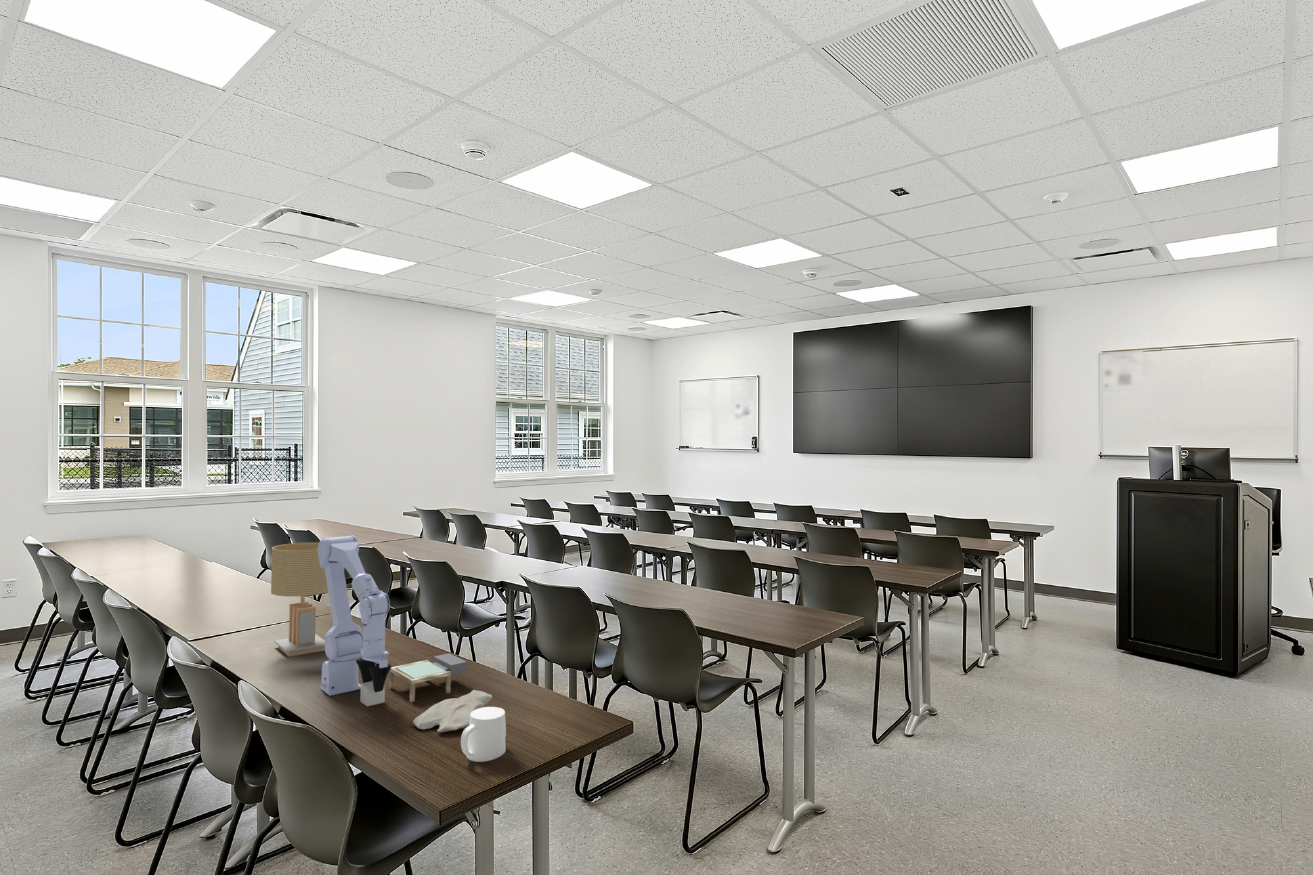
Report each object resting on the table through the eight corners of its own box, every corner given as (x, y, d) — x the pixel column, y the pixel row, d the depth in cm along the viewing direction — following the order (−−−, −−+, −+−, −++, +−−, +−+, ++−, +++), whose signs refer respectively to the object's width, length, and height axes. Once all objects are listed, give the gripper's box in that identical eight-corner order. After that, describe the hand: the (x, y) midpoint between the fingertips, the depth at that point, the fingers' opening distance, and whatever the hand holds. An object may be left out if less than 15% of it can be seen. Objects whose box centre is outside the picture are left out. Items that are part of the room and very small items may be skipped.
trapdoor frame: (427, 679, 213) (427, 659, 213) (450, 692, 203) (450, 671, 203) (389, 688, 205) (389, 667, 205) (411, 702, 195) (411, 680, 195)
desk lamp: (262, 647, 243) (265, 545, 243) (322, 638, 256) (325, 541, 256) (277, 661, 228) (280, 552, 229) (340, 650, 241) (342, 547, 242)
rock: (510, 720, 184) (481, 699, 195) (511, 703, 184) (481, 683, 194) (434, 750, 170) (407, 725, 180) (434, 731, 169) (407, 708, 180)
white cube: (367, 706, 191) (367, 688, 191) (360, 701, 195) (360, 683, 195) (384, 702, 194) (384, 684, 195) (377, 697, 198) (378, 679, 198)
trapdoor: (448, 664, 217) (448, 652, 217) (467, 673, 208) (467, 662, 208) (396, 675, 205) (396, 663, 205) (414, 686, 197) (414, 673, 197)
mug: (491, 703, 170) (514, 710, 166) (490, 741, 170) (513, 750, 166) (451, 718, 160) (475, 727, 156) (450, 759, 160) (474, 769, 156)
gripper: (399, 641, 192) (398, 691, 192) (377, 630, 203) (376, 678, 203) (373, 645, 187) (372, 697, 187) (352, 634, 198) (351, 683, 198)
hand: (372, 687), depth 195 cm, fingers open, 7 cm apart
